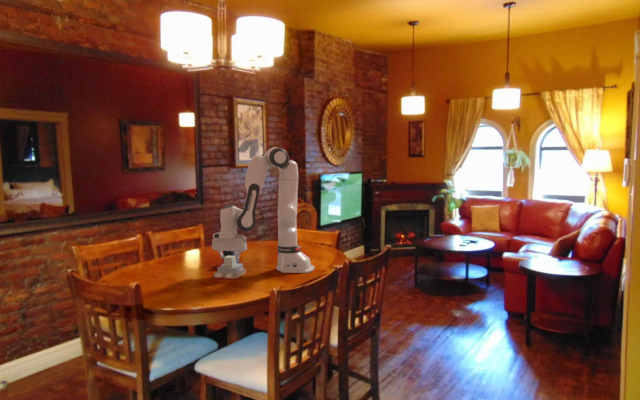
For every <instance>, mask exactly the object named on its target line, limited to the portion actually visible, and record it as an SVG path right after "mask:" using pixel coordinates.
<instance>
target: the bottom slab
mask: <svg viewBox="0 0 640 400" xmlns="http://www.w3.org/2000/svg"><path fill="white" fill-rule="evenodd" d="M246 271H247V270H246V268H244V267H243V269H242V270H241V271H239V272H238V273H237V274H229V273H218V271H216V272H214V273H213V277H214V278H224V279H237V278H239V277H240V276H242V275H244V274H245V273H246Z"/></svg>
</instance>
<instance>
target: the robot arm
mask: <svg viewBox="0 0 640 400" xmlns="http://www.w3.org/2000/svg"><path fill="white" fill-rule="evenodd" d="M271 167H274V168H277V169H278V172H279V176H278V177H279V178H278V196H277V197H278V199H277V233H278V234H277V238H278V242H277V243H278V245H277V263H276V270H277V271H278V272H280V273H282V274H283V273H285V274H286V273H287V274H289V273H291V274H294V273H296V274H297V273H298V274H300V273H301V274H304V273H305V274H308V273H311V272H313V271H314V270H315V265H313V264H312V263H311V259H310V257H309V256H307V255H306V254H305V253H304V252H303V251H301V248H302V246H301V245H299V244H298V229H297V227H298V225H297V224H298V223H297V222H298V221H297V216H298V195H299V194H298V191H299V167H298V163H297V162H296V161H294V160H293V159H290V156H289V154H288V152H287V151H286V150H285V149H284V148H282V147H277V146H276V147H275V146H274V147H270V148H268V149H266V151H265V152H263V154H261V155H260V154H257V155H253V156H252V158H251V159H250V162H249V164H248V167H247V169H246V173H245V178H244V186H245V190H246V198H245V200H244V201H245V202H244V206H243V209H241V208H238V207H237V206H236V205H234V204H230V205H226V206H223V207H222V208H221V210H220V215H219V216H220V217H219V218H220V220H219V221H220V222H219V223H220V226H221V227H220V231H218V232H215V233H213V234H212V239H211V240H212V241H211V242H212V243H211V248H212V250H213V251H218V254H219V256H220V259H223V258H224V255H223V251H237V253H238V255H237V256H236V259H239V260H240V256H241V253H242V252H247V250H248V245H247V237H246V236H245V235H244V234H238V229H239V230H240V231H242V232H249V231H251V230H254V227H255V226H256V223H257V222H256V221H257V220H256V209H257V204H258V201H259V196H260V194H261V192H262V188H263V186H264V184H265V181H266V178H267V173H268V171H269V169H270V168H271Z"/></svg>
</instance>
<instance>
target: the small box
mask: <svg viewBox="0 0 640 400" xmlns="http://www.w3.org/2000/svg"><path fill="white" fill-rule="evenodd" d="M222 254H223V255H224V257H226V256H237V255H238V253H237V251H222ZM222 259H223V260H222V261H223V262H222V264H224V258H222ZM236 263H240V258H239V259H236Z"/></svg>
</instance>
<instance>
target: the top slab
mask: <svg viewBox="0 0 640 400" xmlns="http://www.w3.org/2000/svg"><path fill="white" fill-rule="evenodd" d="M243 264H244V263H241V262H239V263H236V265H234V266H233V267H231V266H224V264H223V263H222V264H221V265H219V266H217V268H216V269H217V271H218V273H229V274H237V273H238V272H239V271H241V270H242V269H243V268H244V265H243ZM217 271H216V272H217Z"/></svg>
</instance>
